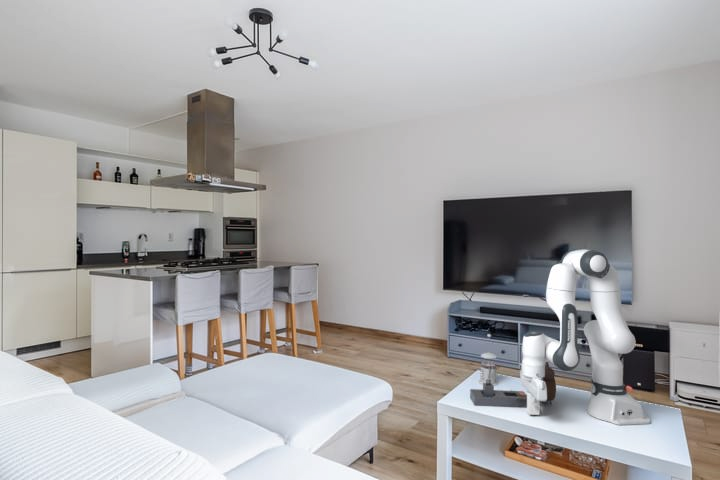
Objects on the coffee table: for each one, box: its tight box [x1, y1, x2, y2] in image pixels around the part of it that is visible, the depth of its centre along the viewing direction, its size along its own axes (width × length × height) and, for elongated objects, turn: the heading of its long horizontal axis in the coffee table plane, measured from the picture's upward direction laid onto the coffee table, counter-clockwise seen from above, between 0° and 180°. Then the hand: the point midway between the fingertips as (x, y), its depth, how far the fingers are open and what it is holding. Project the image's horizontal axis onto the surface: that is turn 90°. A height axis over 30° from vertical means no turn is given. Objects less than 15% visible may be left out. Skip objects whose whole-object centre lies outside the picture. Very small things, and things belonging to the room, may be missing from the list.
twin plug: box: [482, 379, 495, 395], centre depth 184 cm, size 4×3×10 cm
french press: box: [478, 333, 499, 387], centre depth 209 cm, size 10×12×25 cm
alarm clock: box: [540, 362, 557, 407], centre depth 186 cm, size 14×7×20 cm, turn 178°
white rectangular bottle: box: [526, 393, 540, 416], centre depth 171 cm, size 4×3×10 cm
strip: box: [469, 388, 527, 409], centre depth 184 cm, size 24×9×5 cm, turn 87°
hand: (533, 403), depth 171 cm, fingers closed on white rectangular bottle, 3 cm apart
